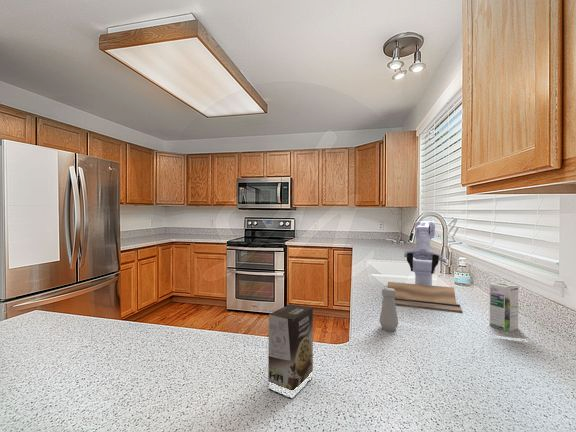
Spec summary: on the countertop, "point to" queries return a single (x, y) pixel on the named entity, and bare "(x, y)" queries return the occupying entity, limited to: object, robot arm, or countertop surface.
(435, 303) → the walnut board
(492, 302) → the syrup box
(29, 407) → the countertop surface
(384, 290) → the salt shaker
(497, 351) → the countertop surface
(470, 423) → the countertop surface
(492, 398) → the countertop surface
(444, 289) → the teak plank
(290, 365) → the coffee box
